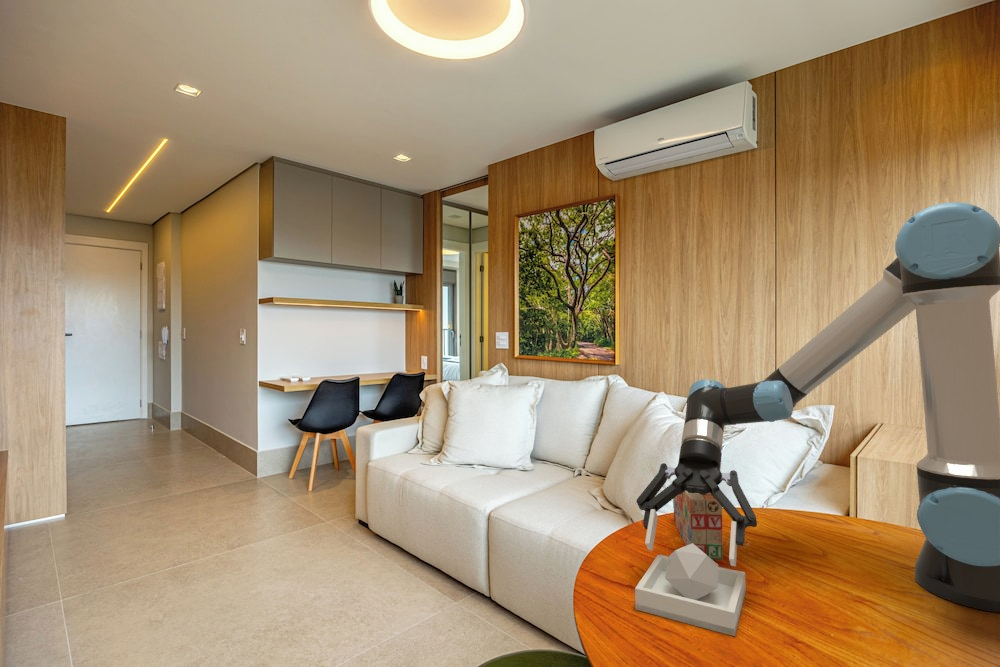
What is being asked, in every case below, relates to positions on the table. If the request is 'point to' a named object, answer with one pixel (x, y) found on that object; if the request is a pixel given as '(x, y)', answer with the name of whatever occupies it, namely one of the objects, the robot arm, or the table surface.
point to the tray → (704, 612)
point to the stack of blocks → (700, 522)
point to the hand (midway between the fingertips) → (688, 554)
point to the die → (692, 572)
